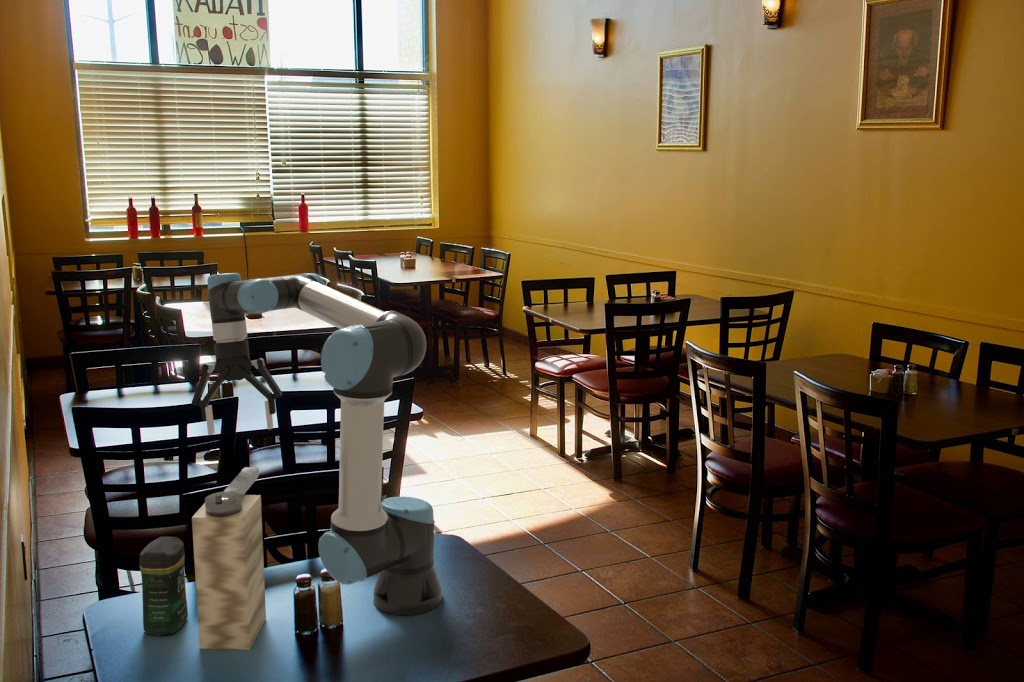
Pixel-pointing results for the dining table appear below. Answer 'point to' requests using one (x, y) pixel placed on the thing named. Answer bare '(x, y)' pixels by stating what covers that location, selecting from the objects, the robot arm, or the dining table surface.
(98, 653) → the dining table surface
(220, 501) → the pin spanner
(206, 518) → the birch pedestal
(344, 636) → the dining table surface
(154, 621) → the coffee jar
